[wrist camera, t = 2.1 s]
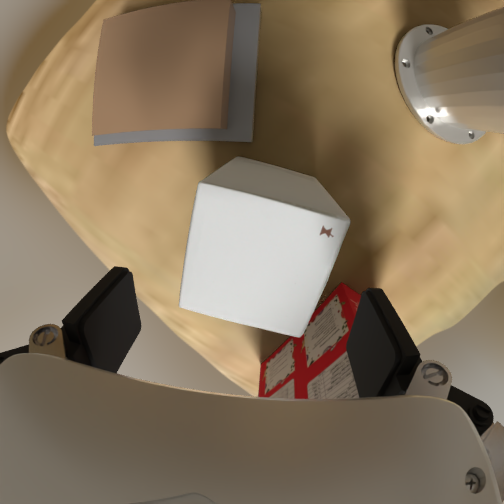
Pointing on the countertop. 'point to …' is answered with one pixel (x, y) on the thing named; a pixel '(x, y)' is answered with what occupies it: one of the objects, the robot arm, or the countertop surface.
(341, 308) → the food packaging
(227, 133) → the pedestal
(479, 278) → the countertop surface
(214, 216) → the supplement box
